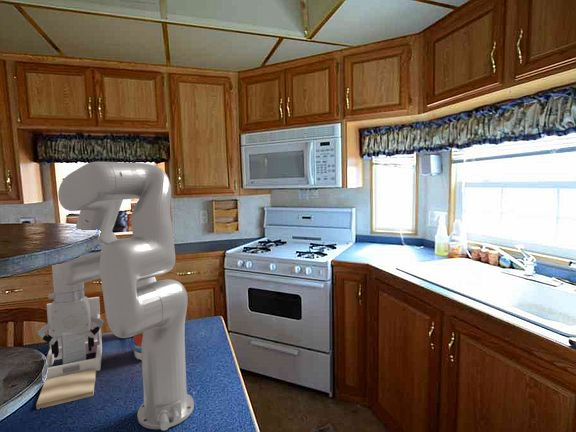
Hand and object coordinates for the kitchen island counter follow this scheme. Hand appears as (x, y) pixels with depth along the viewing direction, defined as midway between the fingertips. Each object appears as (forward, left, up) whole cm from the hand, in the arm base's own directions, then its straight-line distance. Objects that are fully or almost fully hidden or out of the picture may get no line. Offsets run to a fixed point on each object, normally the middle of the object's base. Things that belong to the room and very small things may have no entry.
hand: (73, 352), depth 103 cm
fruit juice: (-3, -21, -4) cm, 22 cm away
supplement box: (0, 0, -4) cm, 4 cm away
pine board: (-14, 0, -4) cm, 15 cm away
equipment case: (0, 0, -4) cm, 4 cm away
